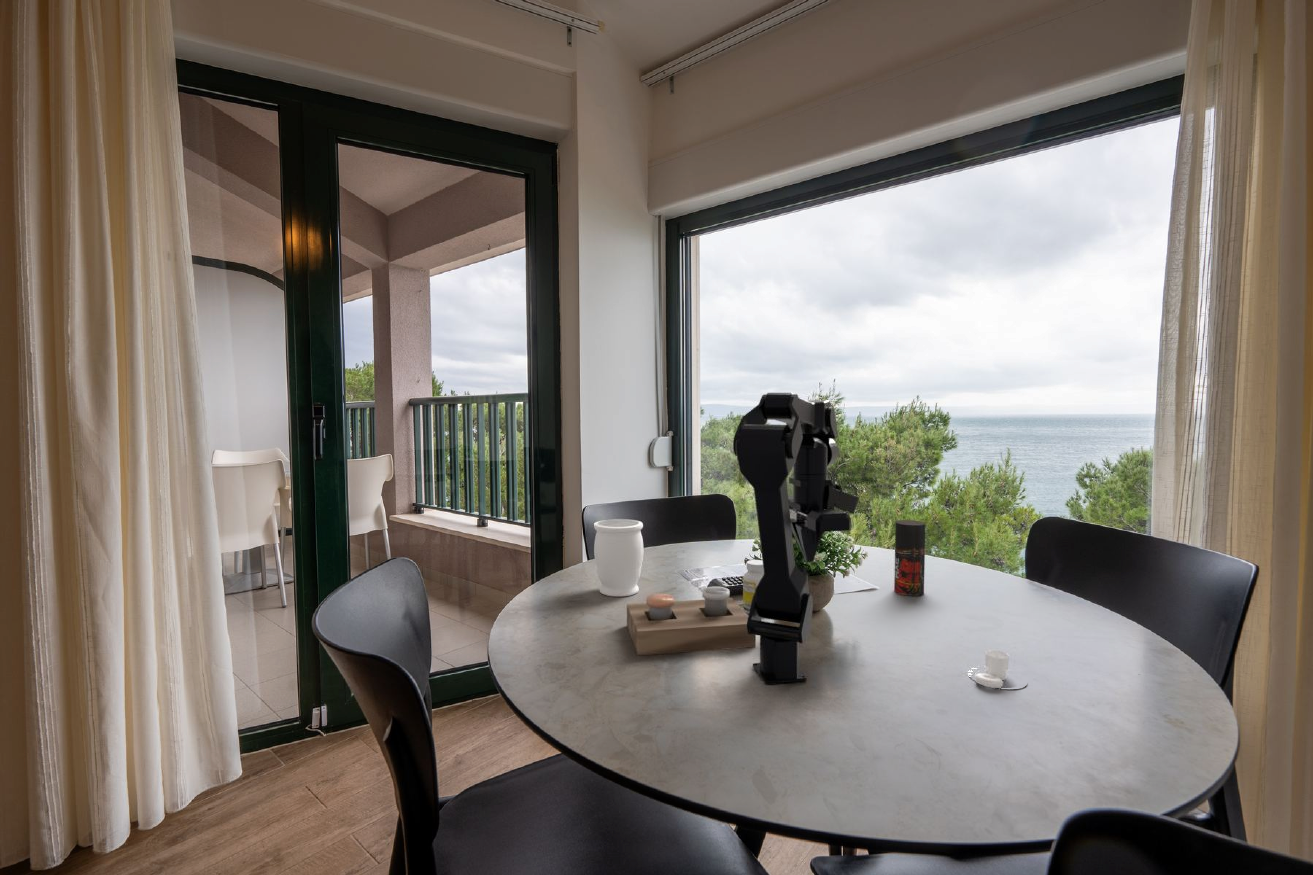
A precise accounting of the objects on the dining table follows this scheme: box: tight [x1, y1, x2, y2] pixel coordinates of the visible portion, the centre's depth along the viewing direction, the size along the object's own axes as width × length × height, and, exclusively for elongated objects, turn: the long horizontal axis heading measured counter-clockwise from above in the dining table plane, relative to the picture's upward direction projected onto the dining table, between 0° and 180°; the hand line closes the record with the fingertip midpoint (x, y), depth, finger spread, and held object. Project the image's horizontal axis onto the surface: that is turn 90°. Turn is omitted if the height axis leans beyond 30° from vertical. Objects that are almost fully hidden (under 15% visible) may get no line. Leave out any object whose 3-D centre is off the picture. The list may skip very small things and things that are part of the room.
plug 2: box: [701, 586, 731, 617], centre depth 114 cm, size 5×5×4 cm
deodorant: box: [893, 519, 926, 597], centre depth 138 cm, size 6×6×15 cm
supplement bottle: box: [742, 559, 764, 615], centre depth 126 cm, size 5×5×10 cm
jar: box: [593, 518, 644, 598], centre depth 139 cm, size 11×10×15 cm
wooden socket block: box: [626, 597, 757, 656], centre depth 114 cm, size 14×20×4 cm
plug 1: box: [645, 593, 675, 621], centre depth 113 cm, size 5×5×4 cm
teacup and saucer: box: [966, 649, 1010, 689], centre depth 96 cm, size 9×8×4 cm
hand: (809, 561), depth 113 cm, fingers closed
